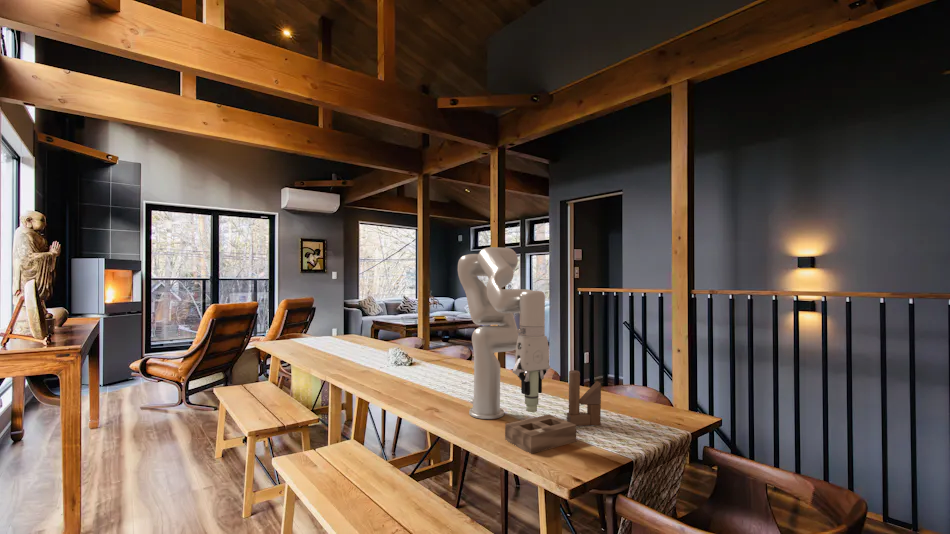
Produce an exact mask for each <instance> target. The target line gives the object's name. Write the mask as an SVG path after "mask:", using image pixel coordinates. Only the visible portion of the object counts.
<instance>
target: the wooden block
mask: <svg viewBox="0 0 950 534" xmlns="http://www.w3.org/2000/svg"><path fill="white" fill-rule="evenodd" d="M580 377H581V373H580V371H579V370H575V369H573V370H569V372H568V412H566V421H567V422H570V423H573V424H575V425H576V427H581V426H588V425H589V426H591V425H594V426H600V425H601V424H602V423H601V421H602V420H601V417H602V416H601V415H602V414H601V412H602V411H601V410H602V408H601V407H602V405H601V404H602V403H601V402H602V383H601V382H599V381H597V380H596V381H595V382H594V384H592V385H591V386H590V387H589V389H587V391H586V392H585V393H584V394H583V395H581V396H580V394H581V393H580V391H581V387H580V383H581V378H580ZM580 405H582V406H583V405H586V409H587V410H586V412H582V411H580Z"/></svg>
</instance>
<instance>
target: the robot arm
mask: <svg viewBox="0 0 950 534" xmlns="http://www.w3.org/2000/svg"><path fill="white" fill-rule="evenodd" d="M514 250H515V249H512V248H511V247H498V246H497V247H496V246H495V247H494V246H493V247H492V246H489V247H484V248H483V249H481V250H480V251H479V252H478V253H469V254H465V255H462V256H461V257H460V258H459V259H458V262H457V275H458V279H459V282H460V284H461V286H462V288H463V291H464V292H465V296H466V301H467V305H468V310H469V315H470V317H471V320H472V322H473V323H474V324H475V325H478V326H479V327H477V328H476V329H474V331H473V332H472V335H471V343H472V349H473V398H471V399H470V401H469V403H470V404H472V407H471V408H469V411H468V412H469V413H468V414H469V416H471V417H473V418H476V419H482V420H494V419H501V418H502V417H504V416H505V411H504V409H503V408H502V407H501V363H500V361H499V359H498V358H497V356H496V355H495V353H503V352H505V353H507V352H513V351H515V359H514V360H515V363H514V364H515V365H514V366H513V368H512V371H511V372H512V373H513V374H515V375H516V376H517V377H518V378H519V381H521V384H520V385H521V386H520V387H521V389H520V390H521V392H520V393H521V394H522V395H524V396H525V395H530V382H529V381H528V379H529V373H530V372H532V371H539V382H538V394H542V392H543V380H544V378H545V377H544V376H545V375H546V373H547V372H548V371H549V370H550V369H551V365H550V348H549V341H548V337H547V335H546V334H545V333H546V331H545V330H546V329H545V328H546V327H545V325H546V323H545V321H546V319H545V318H546V312H545V311H546V305H545V303H546V296H545V293H544V292H543V291H541V290H532V289H526V288H525V289H520V288H519V289H517V288H516V289H515V288H505V289H504V287H506V286H508V285H509V284H510V283H512V281H513V278H514V274H515V273H514V270H515V269H516V268H517V266H518V261H519V259H518V254H517V252H516V251H514ZM478 277H487V278H488V281H487V284H486V285H485V283H484V282H483V281H482V280H481V279H480V278H478ZM514 314H519V328H518V326H517V324H516V323H517V321H516V320H515V319H516V318H515V316H514Z"/></svg>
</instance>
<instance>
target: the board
mask: <svg viewBox="0 0 950 534" xmlns="http://www.w3.org/2000/svg"><path fill="white" fill-rule="evenodd" d="M504 433H505V434H504V440H507V441H508V443H509V442H510V443H509V444H511V443H512V444H511V445H513V444H514V446H515V445H516V446H515V447H517V448H519V449H521V450H523V451H525V452H527V453H528V452H529V453H528V454H530V453H531V454H536V453H539V452H542V451H546V450H550V449H554V448H557V447H561V446H564V445H568V444H572V443H575V442H577V426H576V425H575V424H573V423H570V422H567V420H565V419H562V418H560V417H557V416H554V415H552V414H545V415H540V416H536V417H531V418H526V419H521V420H518V421H512V422H509V423H505V424H504ZM507 441H506V442H507ZM531 454H530V455H531Z"/></svg>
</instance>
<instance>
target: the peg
mask: <svg viewBox="0 0 950 534" xmlns="http://www.w3.org/2000/svg"><path fill="white" fill-rule="evenodd" d="M528 381H529V382H530V395H525V394H524V404H525V410H526V411H527V412H528V413H529V412H530V413H535V412H537V411H538V405H539V396H540V395H539V393H538V382H539V371H532V372H530V373H529V379H528Z"/></svg>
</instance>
